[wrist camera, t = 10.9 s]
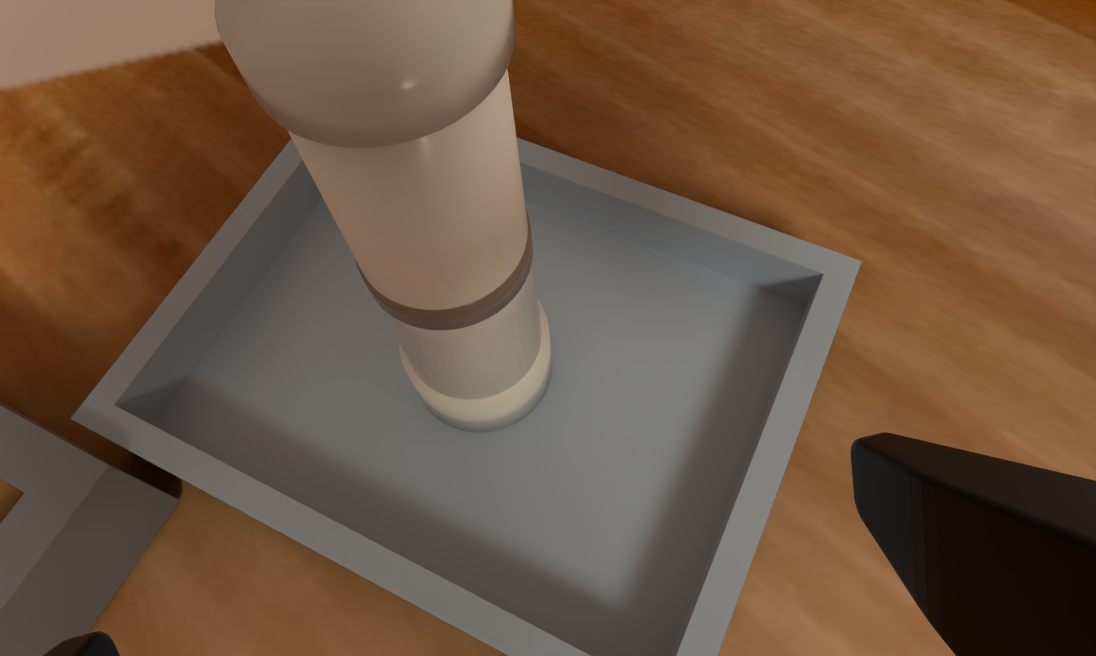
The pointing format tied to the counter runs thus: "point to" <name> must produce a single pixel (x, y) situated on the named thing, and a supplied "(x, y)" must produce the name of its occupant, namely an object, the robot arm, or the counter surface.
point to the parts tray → (521, 449)
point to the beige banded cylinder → (415, 179)
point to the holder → (65, 534)
